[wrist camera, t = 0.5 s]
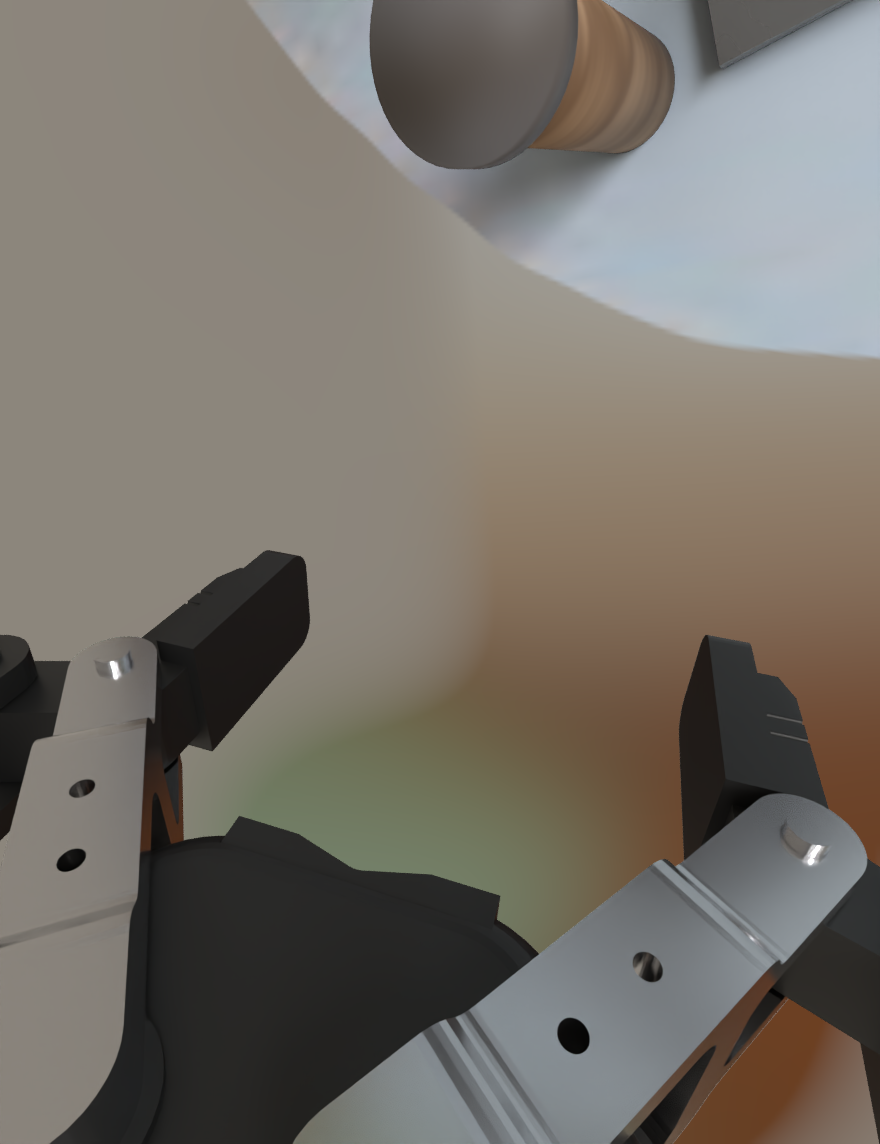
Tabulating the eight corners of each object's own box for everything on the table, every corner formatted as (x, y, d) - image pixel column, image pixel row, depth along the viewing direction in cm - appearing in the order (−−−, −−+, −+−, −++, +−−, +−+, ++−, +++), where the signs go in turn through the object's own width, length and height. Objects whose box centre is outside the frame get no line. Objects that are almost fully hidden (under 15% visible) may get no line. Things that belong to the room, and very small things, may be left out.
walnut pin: (548, 58, 29) (339, -17, 17) (673, -21, 26) (520, -182, 14) (581, 190, 31) (414, 204, 19) (702, 131, 27) (589, 104, 16)
